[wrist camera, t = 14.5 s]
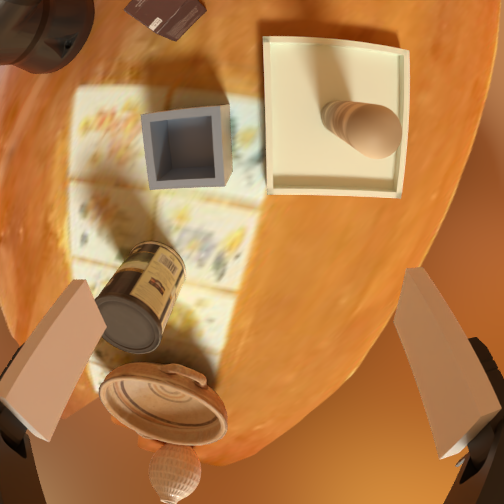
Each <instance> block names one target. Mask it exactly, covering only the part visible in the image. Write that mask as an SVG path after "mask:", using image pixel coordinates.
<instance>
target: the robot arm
mask: <svg viewBox="0 0 504 504" xmlns="http://www.w3.org/2000/svg"><path fill="white" fill-rule="evenodd" d="M93 20H94V4H93V1H92V0H0V65H10V64H12V65H14V66H16V67H19V68H21V69H23V70H26V71H28V72H30V73H34V74H44V73H52V72H55V71H57V70H59V69H61V68H63V67H64V66H66V65H67V64H68V63H69V62H70V61H72V60H73V59H74V57H75V56H76V55H77V54H78V53H79V51H80V50H81V49H82V47H83V45H84V44H85V42H86V40H87V38H88V36H89V34H90V31H91V28H92V24H93ZM393 322H394V325H395V327H396V330H397V332H398V334H399V337H400V340H401V342H402V345H403V347H404V350H405V353H406V355H407V358H408V361H409V363H410V366H411V369H412V372H413V374H414V377H415V380H416V383H417V386H418V389H419V392H420V394H421V398H422V401H423V404H424V407H425V410H426V414H427V417H428V420H429V424H430V427H431V431H432V434H433V437H434V441H435V445H436V449H437V452H438V456H439V459H442V458H445V457H448V456H451V455H454V454H457V453H459V452H460V451H461V450H462V449H463V448H465V447H466V446H468V449H469V452H468V453H467V454H466V455H465V456H464V457H463V458H462V459H460V460H459V461H458V463H457V464H456V467H458V466H459V465H461V464H462V463H463V464H462V467H461V469H460V471H459V473H458V475H457V478H456V480H455V482H454V484H453V486H452V488H451V490H450V492H449V494H448V496H447V498H446V500H445V502H444V503H443V504H504V379H503V376H502V374H501V372H500V371H499V370H498V367H497V365H496V363H495V361H494V360H493V357H492V356H491V354H490V352H489V350H488V349H487V347H486V346H485V345H484V344H483V343H482V342H481V341H480V340H479V339H478V338H477V337H474V338H469V339H467V337H466V335H465V333H464V332H463V330H462V328H461V326H460V325H459V323H458V321H457V320H456V318H455V316H454V315H453V313H452V311H451V310H450V308H449V306H448V305H447V303H446V301H445V300H444V298H443V297H442V295H441V294H440V292H439V291H438V289H437V287H436V286H435V285H434V283H433V281H432V280H431V278H430V277H429V275H428V274H427V272H426V271H425V270H424V268H423V267H419V268H406V272H405V276H404V281H403V285H402V290H401V294H400V298H399V302H398V306H397V310H396V314H395V318H394V321H393ZM106 327H107V326H106V324H105V322H104V320H103V318H102V315H101V313H100V311H99V309H98V307H97V304H96V302H95V300H94V298H93V295H92V293H91V291H90V288H89V286H88V284H87V281H86V280H73V281H72V282H71V283H70V284H69V285H68V287H67V288H66V289H65V290H64V292H63V293H62V294H61V295H60V297H59V298H58V299H57V300H56V302H55V303H54V304H53V306H52V307H51V308H50V309H49V311H48V312H47V313H46V315H45V316H44V317H43V319H42V320H41V321H40V323H39V324H38V325H37V327H36V328H35V330H34V331H33V332H32V334H31V335H30V337H29V338H28V339H27V341H26V342H25V343H24V344H23V345H22V346H21V347H20V348H18V350H17V351H16V353H15V354H14V355H13V357H12V360H10V361H9V363H8V365H7V367H6V368H5V369H4V371H3V372H2V374H1V376H0V504H46V501H45V498H44V494H43V491H42V488H41V485H40V481H39V477H38V474H37V470H36V466H35V462H34V457H33V453H32V448H31V444H30V439H29V436H28V435H27V434H26V433H25V432H26V430H27V429H29V430H30V431H31V432H32V433H33V434H34V435H35V436H36V437H39V438H41V439H43V440H45V441H48V442H49V441H50V439H51V437H52V435H53V432H54V430H55V428H56V426H57V423H58V421H59V419H60V417H61V415H62V413H63V410H64V408H65V406H66V404H67V402H68V400H69V398H70V396H71V394H72V392H73V390H74V388H75V385H76V383H77V381H78V380H79V378H80V376H81V374H82V372H83V370H84V368H85V366H86V364H87V362H88V360H89V358H90V356H91V354H92V353H93V351H94V349H95V347H96V345H97V343H98V342H99V340H100V338H101V336H102V334H103V333H104V331H105V329H106Z"/></svg>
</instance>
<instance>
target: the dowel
mask: <svg viewBox="0 0 504 504" xmlns="http://www.w3.org/2000/svg"><path fill="white" fill-rule="evenodd" d="M321 120H322V123H323V125H324V127H325V128H326V129H327V130H328V131H330V132H331V133H333V134H334V135H336V136H337V137H339V138H340V139H342V140H343V141H345V142H346V143H347V144H349V145H350V146H352V147H353V148H354V149H356V150H357V151H359V152H360V153H361V154H363V155H364V156H366V157H369V158H372V159H382V158H386V157H388V156H390V155H391V154H393V153H394V152H395V151H396V150H397V148H398V147H399V145H400V143H401V139H402V126H401V123H400V121H399V119H398V117H397V116H396V114H395V113H394V112H393V111H392V110H390V109H389V108H387V107H385V106H382V105H377V104H370V103H362V102H353V101H343V100H333V101H330V102H329V103H327V104H326V105H325V106H324V107H323V109H322V112H321Z"/></svg>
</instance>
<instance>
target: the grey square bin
mask: <svg viewBox="0 0 504 504" xmlns="http://www.w3.org/2000/svg"><path fill="white" fill-rule="evenodd" d="M141 121H142V131H143V140H144V149H145V157H146V165H147V173H148V180H149V187H150V190H155V189H172V188H192V187H221V186H225V185H226V183H227V181H228V179H229V178H230V176H231V174H232V172H233V165H232V145H231V125H230V104H224V105H210V106H198V107H187V108H178V109H170V110H162V111H157V112H152V113H147V114H142V115H141Z"/></svg>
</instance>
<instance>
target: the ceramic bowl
mask: <svg viewBox="0 0 504 504" xmlns="http://www.w3.org/2000/svg"><path fill="white" fill-rule="evenodd" d="M206 381H207V379H206V377H205V376H204V375H203V374H201V373H199V372H197V371H195V370H193V369H190V368H188V367H185V366H183V365H180V364H175V363H172V364H167V365H165V364H160V363H154V362H132V363H128V364H124V365H122V366H119V367H117V368H115V369H114V370H112V371H111V372H110V373H109V374H108V375H107V376H106V378H105V380H104V382H103V383H101V385H100V387H99V396H100V399H101V401H102V403H103V405H104V406H105V408H106V409H107V410H108V411H109V412H110V413H111V414H112V415H113V416H114V417H115V418H116V419H117V420H119V421H120V422H121V423H123V424H124V425H126V426H127V427H129V428H131V429H133V430H135V431H136V432H137V433H138V434H139V435H140V436H142V437H144V438H147V439H156V440H160V441H163V442H167V443H172V444H179V445H191V446H194V445H205V444H210V443H213V442H216V441H218V440H220V439H221V438H222V437H223V436H225V434H226V432H227V412H226V409H225V406H224V404H223V402H222V400H221V399H220V397H219V396H218V395H217V393H216V392H215V391H214V390H213V389H212V388H211V387H210V386H208V385H207V383H206Z"/></svg>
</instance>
